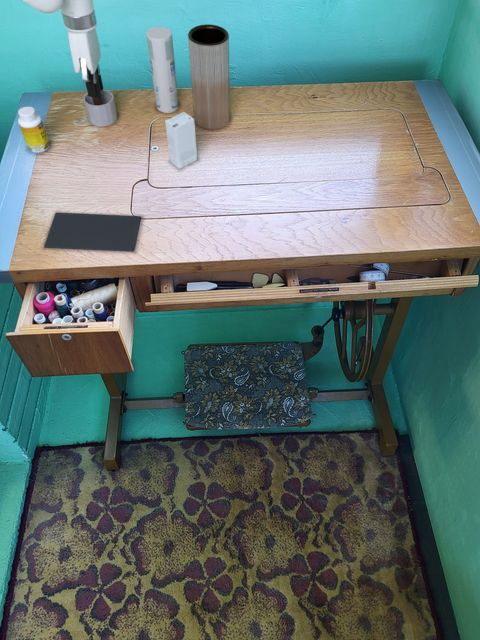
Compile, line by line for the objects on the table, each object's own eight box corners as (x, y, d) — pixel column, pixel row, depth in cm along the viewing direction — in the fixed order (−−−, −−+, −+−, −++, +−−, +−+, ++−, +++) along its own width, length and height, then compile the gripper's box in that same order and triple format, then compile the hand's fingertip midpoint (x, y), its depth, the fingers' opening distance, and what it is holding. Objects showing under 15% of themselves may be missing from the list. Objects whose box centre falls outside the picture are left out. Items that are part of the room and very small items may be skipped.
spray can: (177, 113, 147) (170, 39, 131) (154, 112, 147) (144, 38, 131) (180, 100, 151) (173, 26, 134) (157, 99, 151) (147, 25, 134)
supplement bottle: (50, 153, 136) (37, 116, 127) (27, 154, 135) (13, 118, 126) (50, 139, 139) (38, 103, 130) (28, 141, 138) (15, 105, 129)
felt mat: (44, 248, 118) (43, 246, 117) (56, 214, 124) (55, 212, 123) (133, 251, 118) (133, 250, 118) (140, 217, 124) (140, 216, 124)
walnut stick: (95, 118, 143) (85, 74, 133) (97, 112, 145) (87, 69, 135) (105, 118, 143) (95, 75, 133) (106, 113, 145) (97, 69, 135)
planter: (237, 121, 147) (237, 36, 128) (209, 134, 143) (205, 49, 124) (214, 104, 151) (211, 19, 132) (186, 117, 147) (179, 32, 128)
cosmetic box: (187, 152, 138) (183, 109, 128) (198, 160, 137) (195, 118, 126) (169, 161, 136) (163, 119, 126) (179, 170, 134) (175, 128, 124)
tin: (86, 125, 143) (80, 105, 138) (91, 109, 147) (86, 88, 142) (114, 127, 143) (110, 106, 138) (119, 110, 147) (115, 90, 142)
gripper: (70, 1, 128) (88, 75, 143) (55, 34, 119) (75, 110, 134) (101, 3, 128) (115, 77, 143) (88, 36, 119) (104, 111, 134)
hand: (96, 92), depth 139 cm, fingers closed on walnut stick, 2 cm apart
